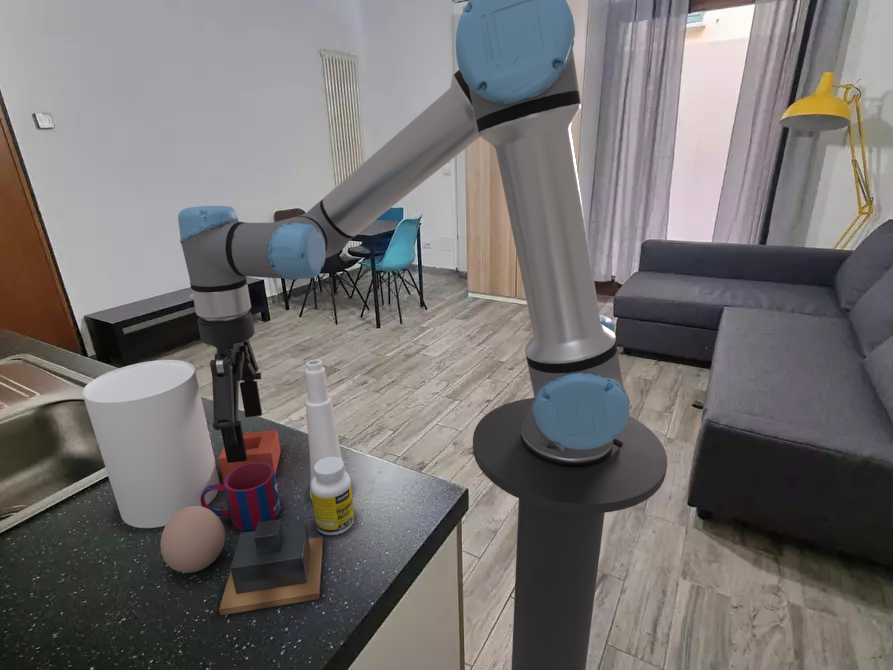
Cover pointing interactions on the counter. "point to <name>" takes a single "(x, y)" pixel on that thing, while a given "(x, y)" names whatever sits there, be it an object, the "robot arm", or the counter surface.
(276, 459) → the coral block
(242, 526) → the cup
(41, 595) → the counter surface
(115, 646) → the counter surface
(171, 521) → the egg
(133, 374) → the canister
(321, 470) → the supplement bottle
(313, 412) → the cosmetic bottle
